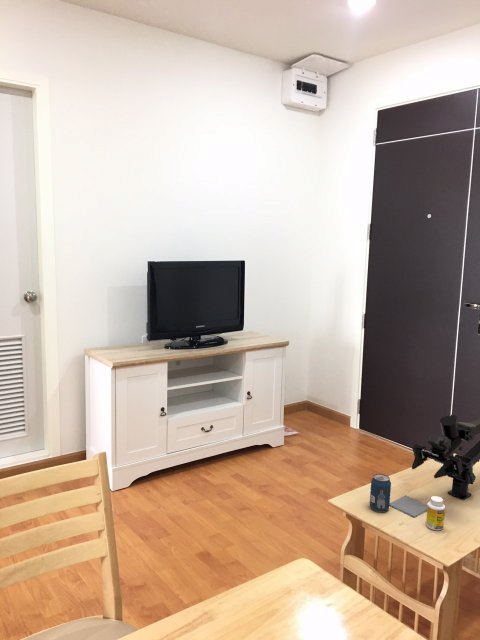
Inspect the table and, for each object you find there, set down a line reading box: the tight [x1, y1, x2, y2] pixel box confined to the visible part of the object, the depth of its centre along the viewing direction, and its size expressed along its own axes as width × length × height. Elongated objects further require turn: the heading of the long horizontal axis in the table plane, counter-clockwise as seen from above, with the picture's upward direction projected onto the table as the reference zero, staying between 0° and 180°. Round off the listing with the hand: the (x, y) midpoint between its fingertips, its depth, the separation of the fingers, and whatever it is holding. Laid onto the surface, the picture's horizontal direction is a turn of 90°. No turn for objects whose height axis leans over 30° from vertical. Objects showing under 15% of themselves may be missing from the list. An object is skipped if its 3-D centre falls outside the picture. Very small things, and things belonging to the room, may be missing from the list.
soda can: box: [369, 473, 392, 513], centre depth 192 cm, size 7×7×12 cm
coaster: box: [389, 494, 428, 519], centre depth 194 cm, size 11×11×1 cm
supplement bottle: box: [425, 495, 446, 531], centre depth 180 cm, size 6×6×10 cm
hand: (423, 472), depth 188 cm, fingers open, 9 cm apart
